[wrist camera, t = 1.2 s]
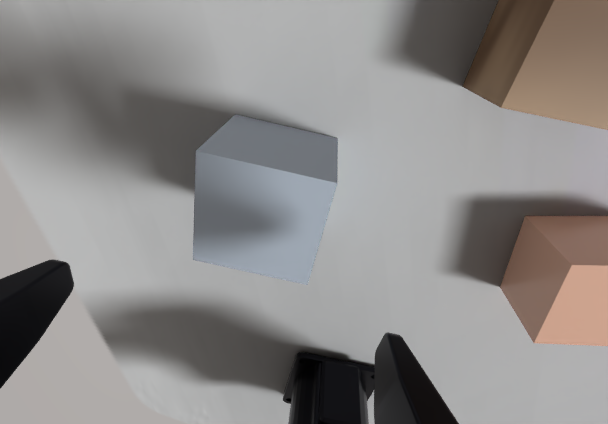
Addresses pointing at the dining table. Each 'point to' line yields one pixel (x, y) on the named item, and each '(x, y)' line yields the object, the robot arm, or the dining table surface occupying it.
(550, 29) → the walnut block
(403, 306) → the dining table surface
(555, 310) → the terracotta cube
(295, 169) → the slate cube
